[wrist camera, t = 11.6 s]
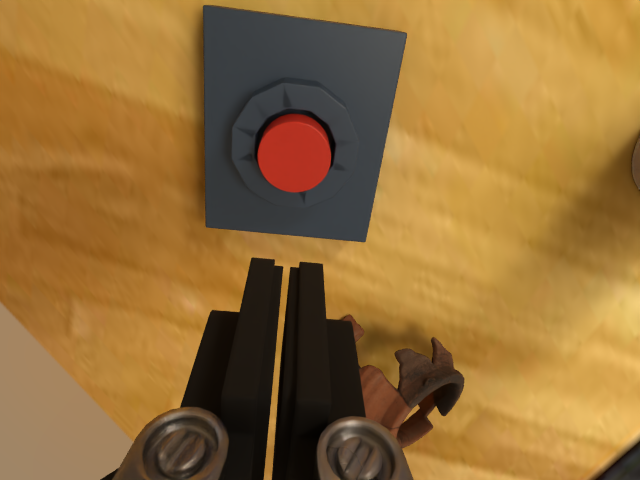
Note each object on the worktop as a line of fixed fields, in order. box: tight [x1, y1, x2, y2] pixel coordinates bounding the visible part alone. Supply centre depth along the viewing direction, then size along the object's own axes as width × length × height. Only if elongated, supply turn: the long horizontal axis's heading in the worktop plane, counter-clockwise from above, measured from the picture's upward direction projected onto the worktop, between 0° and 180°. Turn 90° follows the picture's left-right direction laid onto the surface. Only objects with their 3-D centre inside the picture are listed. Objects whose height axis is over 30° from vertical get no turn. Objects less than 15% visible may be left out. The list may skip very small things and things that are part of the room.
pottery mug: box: [342, 315, 464, 448], centre depth 32 cm, size 12×10×8 cm
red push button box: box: [203, 5, 407, 242], centre depth 23 cm, size 12×10×4 cm
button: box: [258, 114, 331, 192], centre depth 21 cm, size 4×4×2 cm
